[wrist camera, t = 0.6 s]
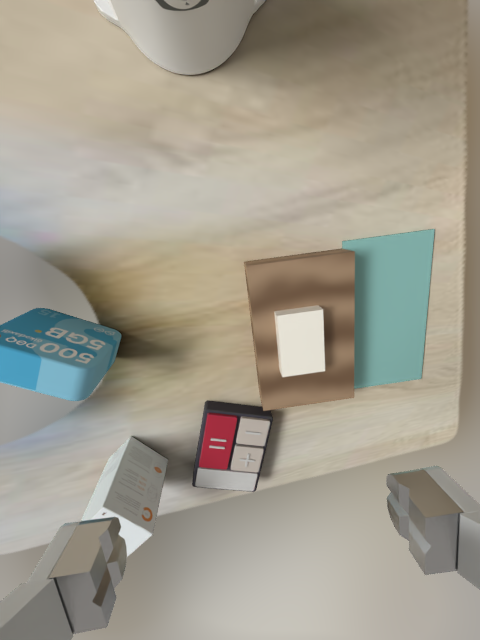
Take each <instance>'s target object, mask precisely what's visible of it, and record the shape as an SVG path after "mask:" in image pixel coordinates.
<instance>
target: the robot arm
mask: <svg viewBox="0 0 480 640" xmlns="http://www.w3.org/2000/svg"><path fill="white" fill-rule="evenodd" d="M265 1H266V0H94V2H95V5H96V7H97V9H98V11H99V12H100V14H101V15H102V16H103V17H105V18H106V19H107V20H109V21H110V22H112V23H113V24H115V25H117V26H118V27H120V28H122V29H123V30H124V31H125V32H126V33H127V34H128V35H129V36H130V38H131V39H132V40H133V42H134V43H135V44H136V46H137V47H138V48H139V49H140V50H141V52H142V53H143V54H144V55H145V56H147V57H148V58H149V59H150V60H151V61H153V62H154V63H155V64H157V65H158V66H160V67H162V68H164V69H166V70H168V71H171V72H174V73H178V74H185V75H194V74H201V73H205V72H208V71H210V70H212V69H214V68H216V67H218V66H219V65H221V64H222V63H223V62H224V61H226V60H227V59H228V58H229V57H230V56H231V55H232V53H233V52H234V51H235V49H236V48H237V46H238V45H239V43H240V41H241V40H242V37H243V35H244V33H245V30H246V28H247V25H248V23H249V21H250V19H251V17H252V15H253V13H254V12H256V11H257V10H258V8H259V7H260V6H261V5H262V4H263V3H264V2H265ZM387 487H388V488H389V489H390V491H391V493H390V494H389V496H388V497H387V507H388V511H389V514H390V518H391V520H392V522H393V524H394V526H395V528H396V530H397V531H398V533H399V534H400V535H401V536H402V537H404V538H405V539H407V540H408V541H409V550H410V552H411V554H412V555H413V557H414V558H415V560H416V562H417V563H418V564H419V566H420V568H421V569H422V571H423V572H424V574H425V575H428V574H435V573H442V572H450V571H458V573H459V574H460V575H461V576H462V577H464V578H465V579H466V580H468V581H469V582H470V583H472V584H473V585H474V586H476V587H477V588H478V589H480V504H478V503H477V501H476V500H474V499H473V498H472V497H471V496H470V495H469V494H468V493H467V492H466V491H465V490H464V489H463V488H462V487H461V486H460V485H459V484H458V483H457V482H456V481H455V480H454V479H453V478H451V476H449V474H447V473H446V472H445V471H444V470H443V469H442V468H441V467H439V466H433V467H427V468H422V469H416V470H410V471H404V472H398V473H392V474H388V476H387ZM120 529H121V524H120V521H119V518H118V517H109V518H101V519H93V520H85V521H81V522H73V523H65V524H64V525H63V526H61V527H60V528H59V530H58V531H57V533H56V535H55V536H54V538H53V540H52V541H51V543H50V545H49V546H48V548H47V550H46V552H45V553H44V555H43V556H42V558H41V560H40V561H39V563H38V565H37V566H36V568H35V570H34V571H33V573H32V574H31V576H30V578H29V580H28V581H27V583H23V584H20V585H19V586H18V587H17V588H15V589H14V590H13V591H12V592H11V593H10V594H9V595H7V596H6V597H5V598H4V599H3V600H2V601H0V640H71V639H72V637H73V634H76V633H80V632H86V631H91V630H96V629H101V628H106V627H107V626H108V623H109V619H110V616H111V613H112V610H113V607H114V604H115V600H116V594H115V591H114V588H115V587H116V586H117V585H118V583H119V582H120V581H121V580H122V578H123V574H124V571H125V567H126V558H127V549H126V543H125V539H124V538H122V537H121V536H120V535H119V532H120Z"/></svg>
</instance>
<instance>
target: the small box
mask: <svg viewBox="0 0 480 640" xmlns="http://www.w3.org/2000/svg"><path fill="white" fill-rule="evenodd" d="M167 463H168V459H166V458H165V457H163V456H161V455H160V454H158V453H157V452H155V451H154V450H152V449H151V448H149V447H147V446H146V445H144V444H143V443H141V442H139V441H138V440H136V439H135V438H133V437H132V436H131V437H130V438H129V439H128V440H127V441H126V442H125V443H124V444H123V445H122V446H121V447H120V448H119V449H118V450H117V451H116V452H115V453H114V454H113V455H112V456H111V457H110V458H109V459H108V461H107V464H106V466H105V468H104V470H103V473H102V475H101V477H100V479H99V481H98V484H97V486H96V488H95V490H94V493H93V495H92V497H91V499H90V502H89V504H88V506H87V509H86V511H85V513H84V515H83V518H82V520H81V521H85V520H93V519H101V518H109V517H118V518H119V521H120V524H121V529H120V532H119V535H120V536H121V537H122V538H124V539H125V543H126V549H127V556H129V555H130V554H131V553H132V552H133V551H134V550H136V549H137V548H138V547H139V546H140V545H141V544H142V543H144V542H145V541H146V540H147V539H148V538H149V537H151V536H152V535H153V531H154V526H155V521H156V516H157V512H158V507H159V502H160V497H161V492H162V488H163V483H164V478H165V473H166V468H167Z"/></svg>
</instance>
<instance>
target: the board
mask: <svg viewBox="0 0 480 640" xmlns="http://www.w3.org/2000/svg"><path fill="white" fill-rule="evenodd" d="M244 265H245V274H246V282H247V291H248V299H249V307H250V316H251V324H252V333H253V341H254V350H255V358H256V367H257V375H258V384H259V392H260V398H261V403H262V407H263V411H267V410H273V409H280V408H287V407H294V406H301V405H307V404H314V403H321V402H328V401H335V400H341V399H348V398H354V325H355V251H351V250H346V249H336V250H328V251H321V252H313V253H306V254H298V255H291V256H284V257H276V258H269V259H261V260H254V261H247V262H244ZM316 305H319V306H320V307H321V308H322V309H323V320H324V351H325V371H323V372H316V373H309V374H302V375H295V376H288V377H282V375H281V373H280V369H279V358H278V347H277V336H276V325H275V313H274V311H280V310H288V309H295V308H302V307H309V306H316Z"/></svg>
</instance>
